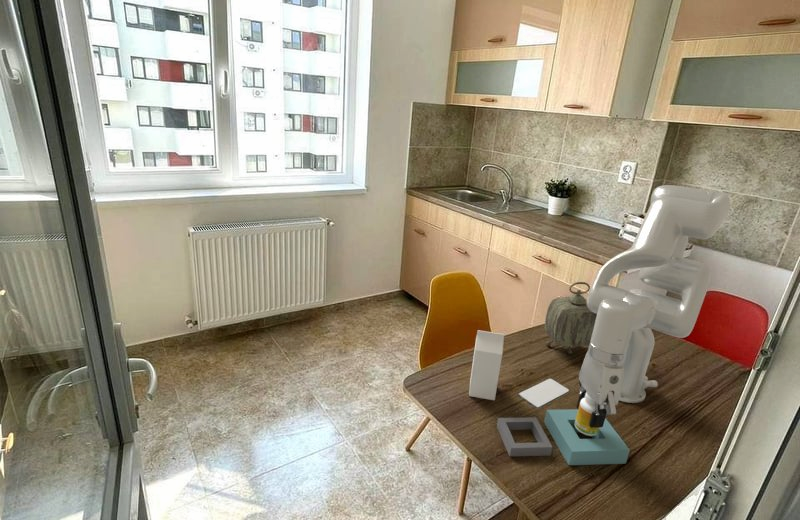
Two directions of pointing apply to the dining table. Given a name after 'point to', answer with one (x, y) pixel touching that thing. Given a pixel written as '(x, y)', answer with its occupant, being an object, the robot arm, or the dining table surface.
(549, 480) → the dining table surface
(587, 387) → the robot arm
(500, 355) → the milk carton
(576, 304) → the tabletop clock
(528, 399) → the smartphone
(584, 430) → the supplement bottle
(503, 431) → the grey picture frame
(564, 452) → the socket block
